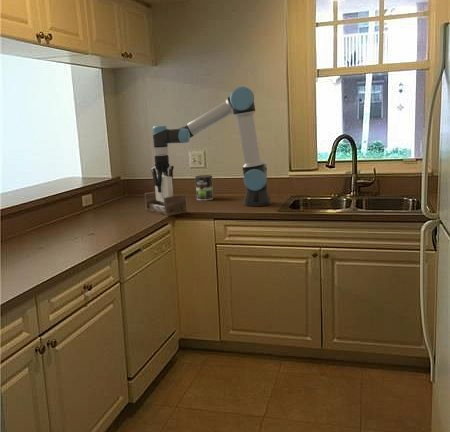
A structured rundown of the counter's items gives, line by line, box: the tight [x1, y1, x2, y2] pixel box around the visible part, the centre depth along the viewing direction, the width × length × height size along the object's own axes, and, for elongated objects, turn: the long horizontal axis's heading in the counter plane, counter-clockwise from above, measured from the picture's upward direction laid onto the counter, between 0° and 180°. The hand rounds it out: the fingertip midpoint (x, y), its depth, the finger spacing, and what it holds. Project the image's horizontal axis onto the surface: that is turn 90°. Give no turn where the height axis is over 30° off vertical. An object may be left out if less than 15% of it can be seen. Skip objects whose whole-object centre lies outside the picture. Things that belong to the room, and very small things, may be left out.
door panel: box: [154, 174, 174, 202], centre depth 287 cm, size 14×3×14 cm, turn 36°
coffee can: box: [194, 174, 214, 201], centre depth 320 cm, size 10×10×14 cm
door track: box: [143, 191, 187, 217], centre depth 289 cm, size 24×12×10 cm, turn 36°
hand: (164, 197), depth 288 cm, fingers closed on door panel, 3 cm apart
